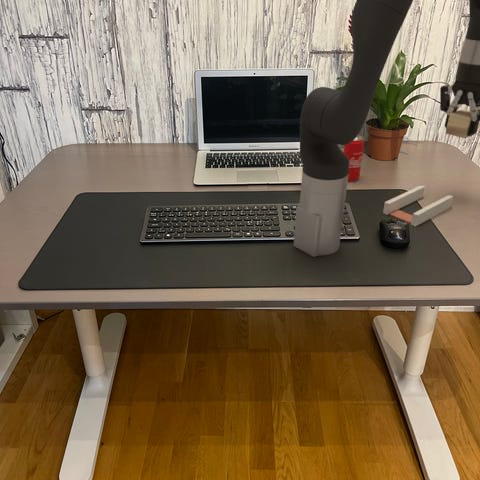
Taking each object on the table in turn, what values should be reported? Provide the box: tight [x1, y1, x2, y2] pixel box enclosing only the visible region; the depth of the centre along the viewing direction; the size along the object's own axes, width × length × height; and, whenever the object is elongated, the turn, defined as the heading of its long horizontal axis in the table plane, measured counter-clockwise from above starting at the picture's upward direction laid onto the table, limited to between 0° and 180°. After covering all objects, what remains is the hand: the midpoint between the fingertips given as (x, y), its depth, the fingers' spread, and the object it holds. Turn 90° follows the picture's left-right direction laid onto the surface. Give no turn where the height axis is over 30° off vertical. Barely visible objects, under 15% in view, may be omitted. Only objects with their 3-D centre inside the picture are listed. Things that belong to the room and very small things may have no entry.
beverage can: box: [343, 134, 365, 182], centre depth 137 cm, size 5×5×12 cm
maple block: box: [445, 109, 480, 139], centre depth 121 cm, size 6×5×5 cm
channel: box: [382, 185, 454, 227], centre depth 122 cm, size 16×9×3 cm, turn 131°
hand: (459, 132), depth 121 cm, fingers closed on maple block, 5 cm apart
